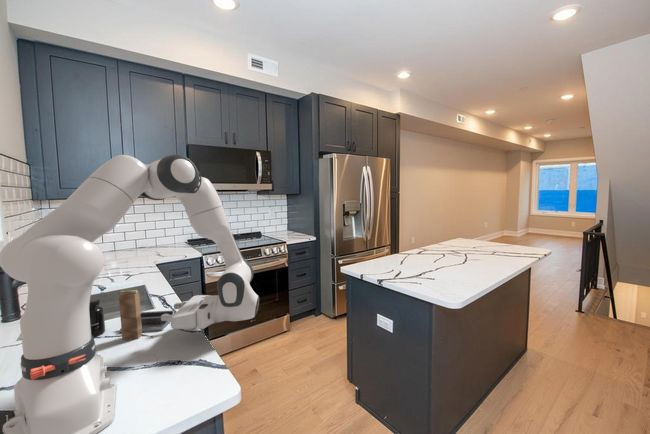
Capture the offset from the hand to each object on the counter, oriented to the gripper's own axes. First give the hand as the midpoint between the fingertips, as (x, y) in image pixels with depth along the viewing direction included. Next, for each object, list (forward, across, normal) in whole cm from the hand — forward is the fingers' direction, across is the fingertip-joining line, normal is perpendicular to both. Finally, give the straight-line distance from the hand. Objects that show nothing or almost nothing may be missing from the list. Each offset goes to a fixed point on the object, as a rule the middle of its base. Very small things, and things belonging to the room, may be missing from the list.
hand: (168, 311), depth 97 cm
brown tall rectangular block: (+12, 0, +8) cm, 15 cm away
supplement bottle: (+27, -4, +8) cm, 29 cm away
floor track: (+11, -10, +8) cm, 17 cm away
